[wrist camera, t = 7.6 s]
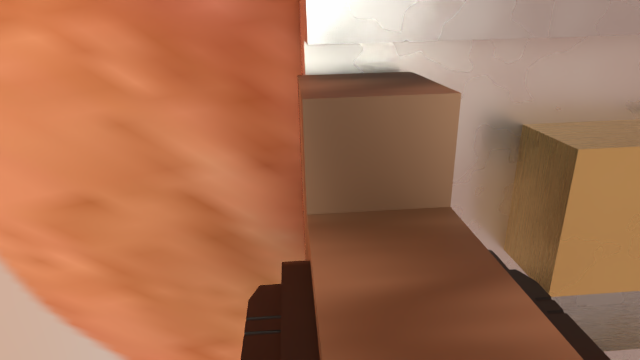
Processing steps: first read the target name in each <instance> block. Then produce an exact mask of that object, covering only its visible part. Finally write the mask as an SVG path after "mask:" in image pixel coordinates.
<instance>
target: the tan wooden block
mask: <svg viewBox="0 0 640 360" xmlns="http://www.w3.org/2000/svg"><path fill="white" fill-rule="evenodd" d="M504 251H505V252H506V253H507V254H508V255H509V256H510V257H511V258H512V259H513V260H514V261H515V262H516V263H517V264H518V266H519V267H520V268H521V269H522V270H523V271H524V272H525V273H526V274H527V275H528V276H529V277H530V278H532V279H533V280H535V281H537V282H538V283H539V284H540V286H541V287H542V288H543V289H544V290H545V291H546V292H547V293H548V294H549V295H550V296H551V297H558V296H573V295H587V294H602V293H616V292H630V291H640V119H635V120H612V121H589V122H566V123H543V124H523V126H522V133H521V139H520V146H519V153H518V159H517V166H516V172H515V179H514V185H513V192H512V199H511V205H510V212H509V218H508V225H507V231H506V238H505V244H504Z"/></svg>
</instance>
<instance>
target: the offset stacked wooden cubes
mask: <svg viewBox="0 0 640 360" xmlns="http://www.w3.org/2000/svg"><path fill="white" fill-rule="evenodd" d="M298 97H299V121H300V144H301V167H302V191H303V214H304V237H305V260H306V261H309V260H310V265H311V275H312V285H313V295H314V306H315V316H316V326H317V336H318V346H319V356H320V360H583V358H582V357H581V356H580V355H579V354H578V353H577V352H576V350H575V349H574V348H573V347H572V346H571V345H570V343H569V342H568V341H567V340H566V339H565V338H564V337H563V335H562V334H561V333H560V332H559V331H558V330H557V329H556V327H555V326H554V325H553V324H552V323H551V322H550V321H549V319H548V318H547V317H546V316H545V315H544V314H543V312H542V311H541V310H540V309H539V308H538V307H537V306H536V304H535V303H534V302H533V301H532V300H531V299H530V298H529V296H528V295H527V294H526V293H525V292H524V291H523V290H522V288H521V287H520V286H519V285H518V284H517V283H516V281H515V280H514V279H513V278H512V277H511V276H510V275H509V273H508V272H507V271H506V270H505V269H504V268H503V267H502V265H501V264H500V263H499V262H498V261H497V260H496V259H495V257H494V256H493V255H492V254H491V253H490V252H489V250H488V249H487V248H486V247H485V246H484V245H483V244H482V242H481V241H480V240H479V239H478V238H477V237H476V236H475V234H474V233H473V232H472V231H471V230H470V229H469V228H468V226H467V225H466V224H465V223H464V222H463V221H462V219H461V218H460V217H459V216H458V215H457V214H456V213H455V211H454V210H453V209H452V208H451V207H450V206H451V196H452V185H453V175H454V164H455V154H456V144H457V133H458V123H459V113H460V102H461V93H460V92H458V91H455V90H453V89H451V88H448V87H446V86H444V85H441V84H439V83H437V82H434V81H432V80H430V79H427V78H425V77H423V76H420V75H418V74H416V73H413V72H382V73H353V74H325V75H298Z"/></svg>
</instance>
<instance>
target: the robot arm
mask: <svg viewBox="0 0 640 360" xmlns="http://www.w3.org/2000/svg"><path fill="white" fill-rule="evenodd" d="M489 252H490V253H491V254H492V255H493V256H494V257H495V259H496V260H497V261H498V262H499V263H500V264H501V265H502V267H503V268H504V269H505V270H506V271H507V272H508V273H509V275H510V276H511V277H512V278H513V279H514V280H515V281H516V283H517V284H518V285H519V286H520V287H521V288H522V290H523V291H524V292H525V293H526V294H527V295H528V296H529V298H530V299H531V300H532V301H533V302H534V303H535V304H536V306H537V307H538V308H539V309H540V310H541V311H542V312H543V314H544V315H545V316H546V317H547V318H548V319H549V321H550V322H551V323H552V324H553V325H554V326H555V327H556V329H557V330H558V331H559V332H560V333H561V334H562V335H563V337H564V338H565V339H566V340H567V341H568V342H569V343H570V345H571V346H572V347H573V348H574V349H575V350H576V352H577V353H578V354H579V355H580V356H581V357H582V358H583V360H611V359H610V358H609V357H608V356H607V355H606V354H605V353H604V352H603V351H602V350H601V349H600V348H599V347H598V346H597V345H596V343H595V342H594V341H593V340H592V339H591V338H590V337H589V336H588V335H587V334H586V333H585V332H584V331H583V330H582V329H581V328H580V327H579V326H578V325H577V323H576V322H575V321H574V320H573V319H572V318H571V317H570V316H569V315H568V314H567V313H564V311H563V309H562V308H561V307H560V306H559V305H558V303H557V302H556V301H555V300H552V299H551V296H550V295H549V294H548V293H547V292H546V291H545V290H544V289H543V288H542V287H541V286H540V284H539V283H538V282H537V281H535V280H533V279H532V278H530V277H528V276H526V275H525V274H523V273H521V272H520V271H518V270H516V269H511V270H509V269H508V267H507V266H506V265H505V264H504V263H503V262H502V261H501V260H500V258H499V257H498V256H497V255H496V254H495V253H494V252H493V251H492V250H489ZM244 333H245V335H244V339H243V347H242V354H241V360H320V356H319V346H318V336H317V326H316V316H315V306H314V295H313V285H312V275H311V265H310V260H309V261H293V262H282V284H275V285H260V286H259V287H258V289H257V290H256V291H255V293H254V294H253V295H252V297H251V298H250V299H249V301H248V309H247V317H246V324H245V332H244Z"/></svg>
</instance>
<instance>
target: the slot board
mask: <svg viewBox="0 0 640 360" xmlns="http://www.w3.org/2000/svg"><path fill="white" fill-rule="evenodd" d="M299 10H300V35H301V60H302V75H325V74H353V73H382V72H413V73H416V74H418V75H420V76H423V77H425V78H427V79H430V80H432V81H434V82H437V83H439V84H441V85H444V86H446V87H448V88H451V89H453V90H455V91H458V92H460V93H461V102H460V113H459V123H458V133H457V144H456V154H455V164H454V175H453V185H452V196H451V206H450V207H451V208H452V209H453V210H454V211H455V213H456V214H457V215H458V216H459V217H460V218H461V219H462V221H463V222H464V223H465V224H466V225H467V226H468V228H469V229H470V230H471V231H472V232H473V233H474V234H475V236H476V237H477V238H478V239H479V240H480V241H481V242H482V244H483V245H484V246H485V247H486V248H487V249H488V250H492V251H493V252H494V253H495V254H496V255H497V256H498V257H499V258H500V260H501V261H502V262H503V263H504V264H505V265H506V266H507V267H508V269H509V270H511V269H516V270H518V271H520V272H521V273H523V274H525V275H526V276H528V275H527V274H526V273H525V272H524V271H523V270H522V269H521V268H520V267H519V266H518V264H517V263H516V262H515V261H514V260H513V259H512V258H511V257H510V256H509V255H508V254H507V253H506V252H505V251H504V244H505V238H506V231H507V225H508V218H509V212H510V205H511V199H512V192H513V185H514V179H515V172H516V166H517V159H518V153H519V146H520V139H521V133H522V126H523V124H543V123H566V122H589V121H612V120H635V119H640V0H299ZM528 277H529V276H528ZM551 299H552V300H555V301H556V302H557V303H558V305H559V306H560V307H561V308H562V309H563V311H564V313H567V314H568V315H569V316H570V317H571V318H572V319H573V320H574V321H575V322H576V323H577V325H578V326H579V327H580V328H581V329H582V330H583V331H584V332H585V333H586V334H587V335H588V336H589V337H590V338H591V339H592V340H593V341H594V342H595V343H596V345H597V346H598V347H599V348H600V349H601V350H602V351H603V352H604V353H605V354H606V355H607V356H608V357H609V358H610V359H611V360H640V291H630V292H616V293H602V294H587V295H573V296H558V297H551Z"/></svg>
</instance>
